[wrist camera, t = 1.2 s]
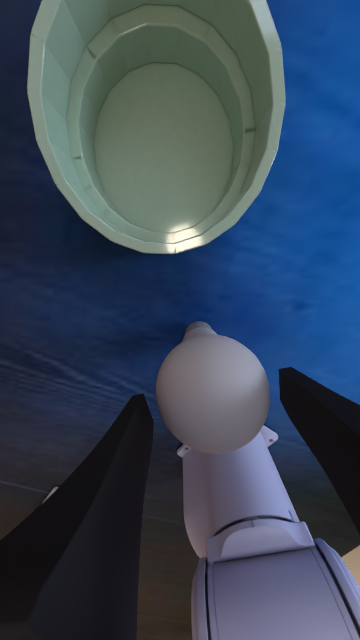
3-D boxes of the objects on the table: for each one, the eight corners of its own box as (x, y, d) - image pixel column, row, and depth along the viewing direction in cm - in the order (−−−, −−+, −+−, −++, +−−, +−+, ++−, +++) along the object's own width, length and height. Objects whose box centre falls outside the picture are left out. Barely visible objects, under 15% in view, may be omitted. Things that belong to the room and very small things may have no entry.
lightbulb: (154, 342, 19) (125, 460, 9) (184, 286, 17) (193, 353, 7) (209, 367, 20) (241, 497, 10) (243, 317, 18) (327, 415, 8)
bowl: (179, 279, 17) (180, 293, 12) (51, 180, 14) (-11, 149, 10) (283, 144, 14) (339, 92, 9) (141, -19, 11) (114, -213, 6)
